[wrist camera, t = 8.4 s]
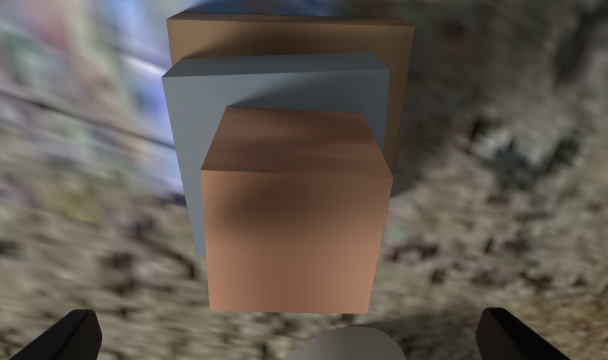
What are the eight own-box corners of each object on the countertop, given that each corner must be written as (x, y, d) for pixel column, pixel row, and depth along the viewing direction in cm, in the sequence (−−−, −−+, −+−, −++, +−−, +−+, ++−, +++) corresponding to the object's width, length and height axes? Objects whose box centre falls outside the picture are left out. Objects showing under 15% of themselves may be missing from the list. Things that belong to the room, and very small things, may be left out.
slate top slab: (373, 51, 17) (389, 69, 14) (364, 211, 21) (375, 248, 18) (181, 58, 17) (161, 77, 14) (208, 218, 20) (196, 256, 18)
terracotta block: (362, 113, 15) (394, 177, 10) (346, 223, 17) (366, 313, 13) (226, 106, 15) (200, 170, 10) (229, 220, 17) (209, 311, 13)
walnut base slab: (397, 17, 19) (415, 26, 16) (373, 197, 24) (383, 227, 21) (183, 10, 18) (166, 19, 16) (203, 196, 23) (192, 226, 21)
